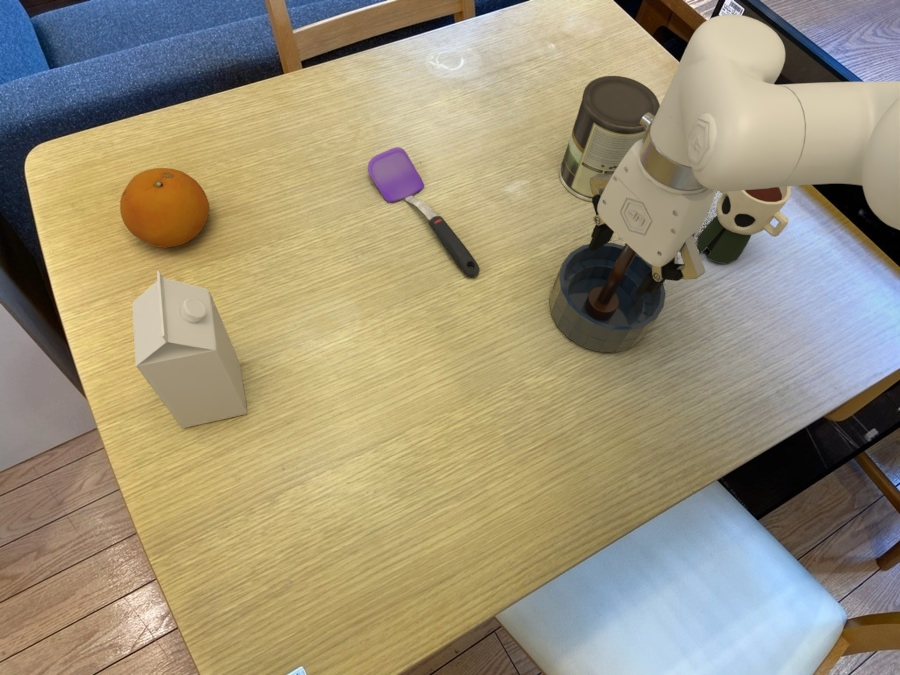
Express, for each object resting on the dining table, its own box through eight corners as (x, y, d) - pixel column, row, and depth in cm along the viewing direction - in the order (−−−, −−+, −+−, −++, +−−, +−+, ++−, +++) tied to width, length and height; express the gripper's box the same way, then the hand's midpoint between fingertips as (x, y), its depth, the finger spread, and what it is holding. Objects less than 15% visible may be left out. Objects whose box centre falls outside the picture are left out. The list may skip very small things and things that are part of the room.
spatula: (494, 269, 84) (497, 258, 82) (453, 290, 82) (455, 279, 80) (401, 157, 93) (401, 144, 91) (361, 173, 91) (360, 160, 89)
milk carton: (182, 429, 69) (118, 344, 53) (177, 374, 73) (116, 277, 56) (247, 415, 71) (206, 327, 54) (240, 361, 74) (198, 263, 58)
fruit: (231, 214, 85) (217, 171, 78) (182, 270, 80) (163, 229, 73) (166, 186, 87) (147, 142, 80) (115, 239, 81) (90, 196, 75)
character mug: (672, 233, 90) (712, 166, 79) (705, 213, 93) (748, 146, 82) (729, 285, 86) (779, 223, 75) (761, 263, 89) (815, 200, 78)
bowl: (668, 322, 82) (687, 296, 77) (597, 372, 78) (612, 349, 72) (599, 255, 87) (612, 226, 82) (528, 298, 82) (537, 271, 77)
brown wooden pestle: (620, 311, 82) (660, 243, 70) (599, 325, 80) (636, 259, 68) (599, 290, 83) (635, 220, 71) (578, 304, 82) (610, 234, 70)
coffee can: (544, 172, 94) (567, 93, 82) (590, 144, 98) (618, 65, 86) (593, 214, 91) (625, 138, 79) (639, 183, 95) (676, 107, 83)
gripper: (590, 114, 61) (550, 232, 76) (726, 231, 54) (652, 335, 70) (643, 88, 64) (594, 207, 79) (778, 197, 57) (696, 303, 72)
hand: (621, 266), depth 74 cm, fingers open, 7 cm apart
